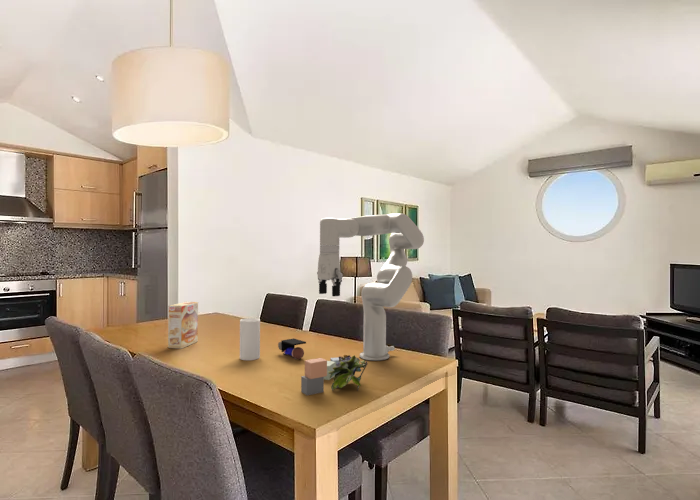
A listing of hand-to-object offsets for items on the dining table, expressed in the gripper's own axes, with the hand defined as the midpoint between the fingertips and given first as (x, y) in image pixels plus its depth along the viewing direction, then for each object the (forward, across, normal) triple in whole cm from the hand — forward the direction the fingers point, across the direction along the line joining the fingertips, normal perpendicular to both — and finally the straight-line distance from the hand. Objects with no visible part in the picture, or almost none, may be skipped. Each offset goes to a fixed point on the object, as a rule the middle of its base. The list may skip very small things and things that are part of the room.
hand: (329, 294), depth 164 cm
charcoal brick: (+28, +20, -18) cm, 39 cm away
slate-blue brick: (+28, +6, +1) cm, 29 cm away
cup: (+28, -31, -20) cm, 47 cm away
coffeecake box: (+28, -70, -38) cm, 85 cm away
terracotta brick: (+23, +20, -17) cm, 35 cm away
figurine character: (+29, -24, -4) cm, 38 cm away
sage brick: (+28, +9, -6) cm, 30 cm away
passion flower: (+29, +22, -5) cm, 37 cm away
